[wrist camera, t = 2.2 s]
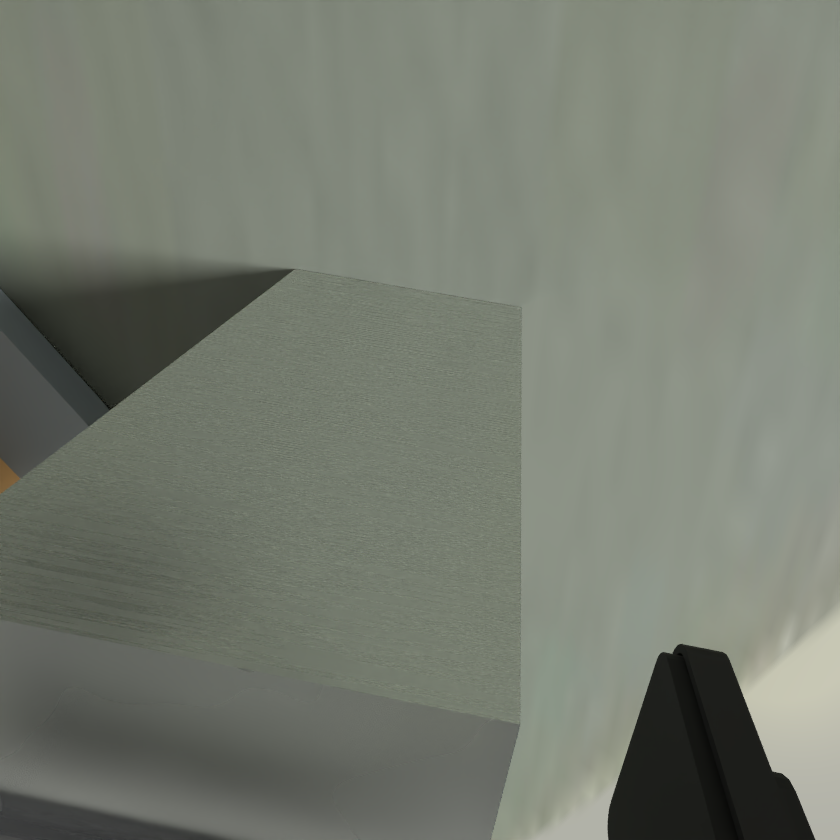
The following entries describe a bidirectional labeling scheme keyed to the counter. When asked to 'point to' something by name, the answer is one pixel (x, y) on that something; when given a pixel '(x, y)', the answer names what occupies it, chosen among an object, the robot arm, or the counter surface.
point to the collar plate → (36, 397)
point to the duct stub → (276, 584)
